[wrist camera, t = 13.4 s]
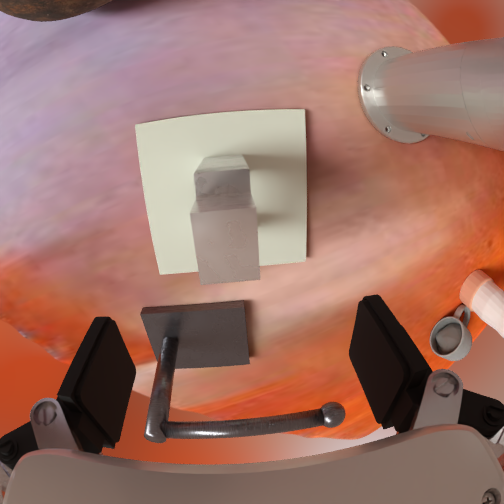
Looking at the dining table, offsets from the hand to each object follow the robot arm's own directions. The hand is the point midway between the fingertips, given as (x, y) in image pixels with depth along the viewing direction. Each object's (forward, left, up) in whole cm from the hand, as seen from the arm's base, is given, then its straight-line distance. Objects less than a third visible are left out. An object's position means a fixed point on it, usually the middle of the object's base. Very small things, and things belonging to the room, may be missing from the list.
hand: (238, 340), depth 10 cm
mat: (0, 0, -24) cm, 24 cm away
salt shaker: (-44, +19, -24) cm, 53 cm away
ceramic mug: (-40, +27, -24) cm, 54 cm away
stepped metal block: (0, 0, -23) cm, 23 cm away
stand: (+2, +20, -24) cm, 31 cm away
